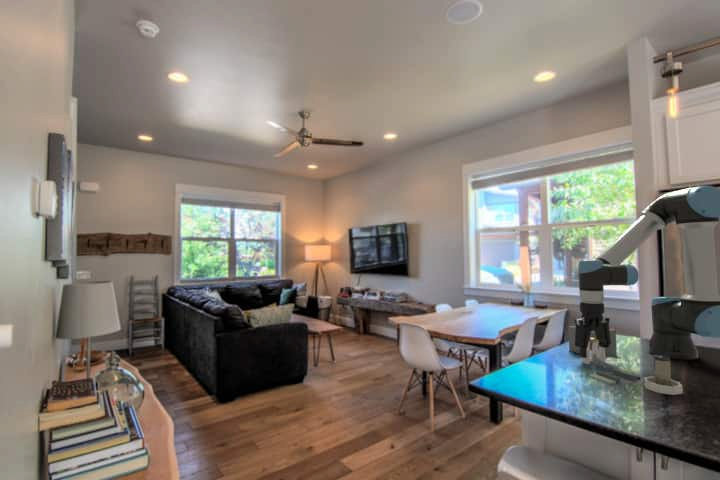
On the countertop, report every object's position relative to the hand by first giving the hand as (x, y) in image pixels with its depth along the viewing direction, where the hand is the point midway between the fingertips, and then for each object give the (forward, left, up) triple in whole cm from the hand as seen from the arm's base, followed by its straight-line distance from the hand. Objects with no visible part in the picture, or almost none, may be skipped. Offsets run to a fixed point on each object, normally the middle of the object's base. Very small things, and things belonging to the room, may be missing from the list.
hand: (593, 365), depth 131 cm
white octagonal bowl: (+4, +26, 0) cm, 26 cm away
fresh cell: (0, 0, 0) cm, 0 cm away
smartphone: (-15, -14, -1) cm, 21 cm away
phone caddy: (-15, -14, 0) cm, 21 cm away
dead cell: (+3, +26, 0) cm, 26 cm away
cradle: (+8, +15, 0) cm, 17 cm away
